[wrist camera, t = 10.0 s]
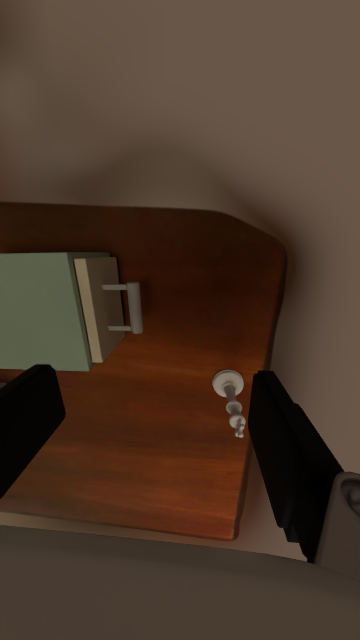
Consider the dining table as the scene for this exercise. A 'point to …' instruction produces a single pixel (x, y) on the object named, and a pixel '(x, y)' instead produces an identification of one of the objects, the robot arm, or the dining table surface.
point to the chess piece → (231, 396)
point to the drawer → (105, 304)
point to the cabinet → (42, 312)
